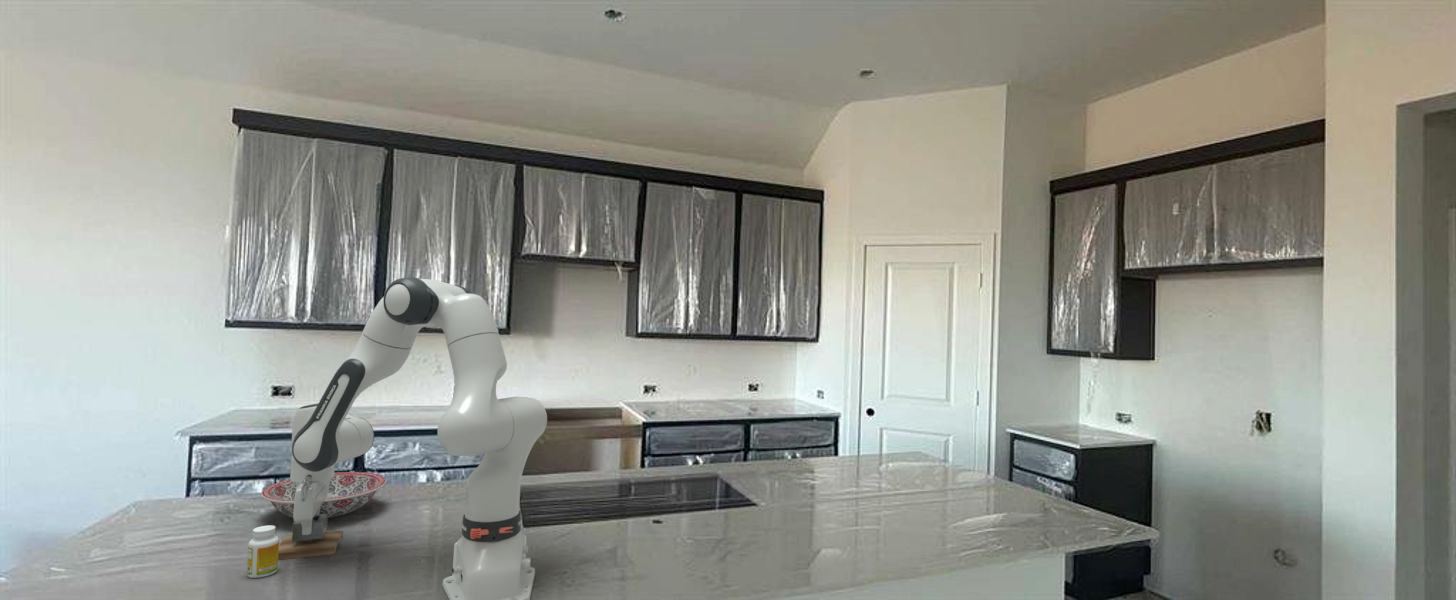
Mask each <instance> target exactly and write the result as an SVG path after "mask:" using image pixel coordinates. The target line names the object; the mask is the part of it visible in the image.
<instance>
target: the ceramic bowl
mask: <svg viewBox="0 0 1456 600" xmlns="http://www.w3.org/2000/svg"><path fill="white" fill-rule="evenodd" d="M296 483H297V482H293V481H291V480H290V478H289V479H285V480H282V481H281V480H280V481H279V482H275V483H274V484H270V485H268V486H267V487H265V488H263V489H262V491H261V492H260V496H261V498H262V499H263V500H266V501H268V502H270V503H271V505H272V506H273V507H274V508H275V509H276V510H277V511H278V512H281V513H282V514H283V515H286V516H288V517H290V518H293V513H294V500H295V492H296V489H297V486H296ZM386 484H387V479H386V478H385V477H384V476H382V475H379V474H377V473H373V472H372V473H371V472H363V471H343V472H342V471H339V472H335V471H334V476H333V477H332V478H330V484H329V490H328V495H327V497H326V499H325V500H324V502H323V503H322V505H321V508H320V512H319V514H328V517H327V519H330V518H335V517H339V516H343V515H347V514H349V513H352V512H354V511H356V510H358V509H360V508H361V507H363V506H364V505H366V504H367V503H368V502H369V501H370V500H371V499H372V498H373V497H374V496H375V494H376V493H377V492H378V490H379V489H382V488H383V487H385V485H386Z"/></svg>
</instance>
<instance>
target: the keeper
mask: <svg viewBox="0 0 1456 600" xmlns="http://www.w3.org/2000/svg"><path fill="white" fill-rule="evenodd" d="M312 521H315V519H312ZM343 535H344V531H343V530H334V531H332V530H331V531H326V533H325V535H324V536H323V538H322V539H314V540H303V541H293V542H292V534H291V535H285V537H284V538H283V539H282V540H281V542H279V551H278V561H279V560H280V561H281V560H289V559H299V558H309V557H319V556H328V555H329V556H330V555H335V553H336V551H337V549H338V547H339V545H340V543H341V540H342V539H343V537H344V536H343Z"/></svg>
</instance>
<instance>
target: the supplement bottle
mask: <svg viewBox="0 0 1456 600" xmlns="http://www.w3.org/2000/svg"><path fill="white" fill-rule="evenodd" d="M276 532H277V531H276V526H275V525H270V524H269V525H261V526H258V527H257V526H256V527H255V528H253V530H252V537H253V538H252V539H251V540H249V541H248V545H247V566H246V572H247V573H246V575H247V577H248V578H251V579H258V578H265V577H268V576H272V575H274V574H275V573H276V572H277V571H278V568H279V560H278V551H279V545H280V539H279V537H278V536H277V535H276Z"/></svg>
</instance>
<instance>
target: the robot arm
mask: <svg viewBox="0 0 1456 600" xmlns="http://www.w3.org/2000/svg"><path fill="white" fill-rule="evenodd" d="M423 328H427V329H441V330H442V331H443V335H444V338H445V341H446V346H447V350H448V353H449V354H448V355H449V358H450V359H449V360H450V362H451V368H452V375H453V378H454V379H453V380H454V382H453V383H454V385H453V387H454V389H453V396H452V399H451V401H450V404H449V406H448V408H447V410H446V411H445V412H444V413H443V414H442V416H441V417H440V420H439V422H438V424H437V425H438V426H437V438H438V442H439V444H440V446H441V448H442V449H443V450H444V451H445V452H446V453H447V454H449V455H450V456H455V457H457V456H458V457H475V456H479V455H483V454H484V455H483V458H482V460H481V462H480V463H479V465H478V466H477V467H476V468H475V469H474V470H473V471H472V472H471V473H470V474H469V476H468V478H467V480H466V482H465V483H466V484H465V504H464V505H465V507H464V509H465V511H464V515H462V522H461V534H462V535H461V537H460V538H459V539H458V540H456V542H455V543H453V544H454V545H453V560H452V561H453V562H452V568H451V572H452V575H450V576H447V577H445V578H443V579H442V584H441V586H442V588H443V590H444V592H445V594H446V596H447V598H448V600H531V595H532V590H533V586H534V581H535V576H536V569H535V567H532V566H531V560H532V559H531V558H530V557H527V554H528V553H529V551H530V547H529V545H528V546H527V535H525V534H524V533H523V532H522V531H521V530H522V514H521V513H522V512H521V510H520V497H521V484H522V477H523V472H524V469H525V465H526V462H527V459H528V457H529V455H530V453H531V450H532V448H533V447H534V445H535V443H536V442H537V440H538V439H539V438H540V437H541V436H542V435H543V434H544V432H545V431H546V428H547V424H548V414H547V411H546V408H545V406H544V404H543V403H542V402H541V401H540V400H538V399H537V398H533V397H527V396H518V395H517V396H511V397H503V398H498V397H497V383H498V381H499V380H500V379H501V378H502V377H503V376H504V375H505V373H506V371H507V369H508V368H507V367H508V362H507V359H506V356H505V352H504V348H503V344H502V340H501V337H500V333H499V330H498V327H497V323H496V321H495V318H494V316H493V313H492V311H491V309H490V307H489V305H488V303H487V302H486V300H485V298H483V297H482V296H481V295H479V294H475V293H473V292H472V291H471V290H470V289H468V288H466V287H463V286H462V285H458V284H452V283H449V282H443V281H440V280H438V279H429V278H419V277H412V276H411V277H410V276H409V277H408V276H407V277H401V278H398V279H395V280H394V281H392V282H391V283H390V284H389V285H388V286H387V288H386V289H385V292H384V295H383V297H382V298H381V299H380V300H379V301H378V303H377V304H376V306H375V307H374V309H373V311H372V312H371V313H370V316H369V317H368V320H367V321H366V324H365V325H364V328H363V330H362V333H361V335H360V337H359V339H358V341H357V343H356V345H355V347H354V348H353V350H352V351H351V353H350V355H348V357H347V358H346V359H345V361H344V362H342V364H341V365H340V366H339V368H338V369H337V370H336V372H335V373H334V375H333V377H332V378H331V380H330V381H329V384H328V385H327V386H326V389H325V390H324V392H323V394H322V396H321V398H320V400H319V402H317V403H314V404H313V403H312V404H308V405H303V406H300V407H299V408H297V411H296V412H295V414H294V416H293V422H292V431H291V452H292V455H291V457H290V475H289V479H290V480H291V481H293V482H297V483H296V486H297V489H296V492H295V500H294V513H293V517H292V518H293V522H301V525H302V534H303V535H309V534H311V532H312V526H313V525H312V519H313V517H314V515H319V512H320V508H321V505H322V503H323V502H324V500H325V499H326V497H327V495H328V490H329V484H330V478H332V477H333V476H334V473H335V465H338V464H341V463H343V462H346V461H350V460H352V459H355V458H358V457H360V456H362V455H365V454H366V453H368V452H369V451H370V450H371V449H372V446H373V444H374V442H375V431H374V428H373V426H372V424H371V423H370V422H369V421H368V420H367V419H365V418H362V417H357V416H353V415H350V414H349V412H350V410H351V408H352V406H353V405H354V402H355V401H356V400H357V398H358V397H359V396H360V395H361V394H362V393H363V392H364V391H365V390H367V389H368V388H369V387H371V386H373V385H374V384H377V383H378V382H380V381H382V380H384V379H387V378H388V377H391V376H393V375H394V374H396V373H398V371H400V370H401V368H402V367H403V365H404V364H405V363H406V361H407V360H408V358H409V357H410V354H411V350H412V348H413V346H414V343H415V341H416V338H417V335H418V333H419V332H420V330H421V329H423Z"/></svg>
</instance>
